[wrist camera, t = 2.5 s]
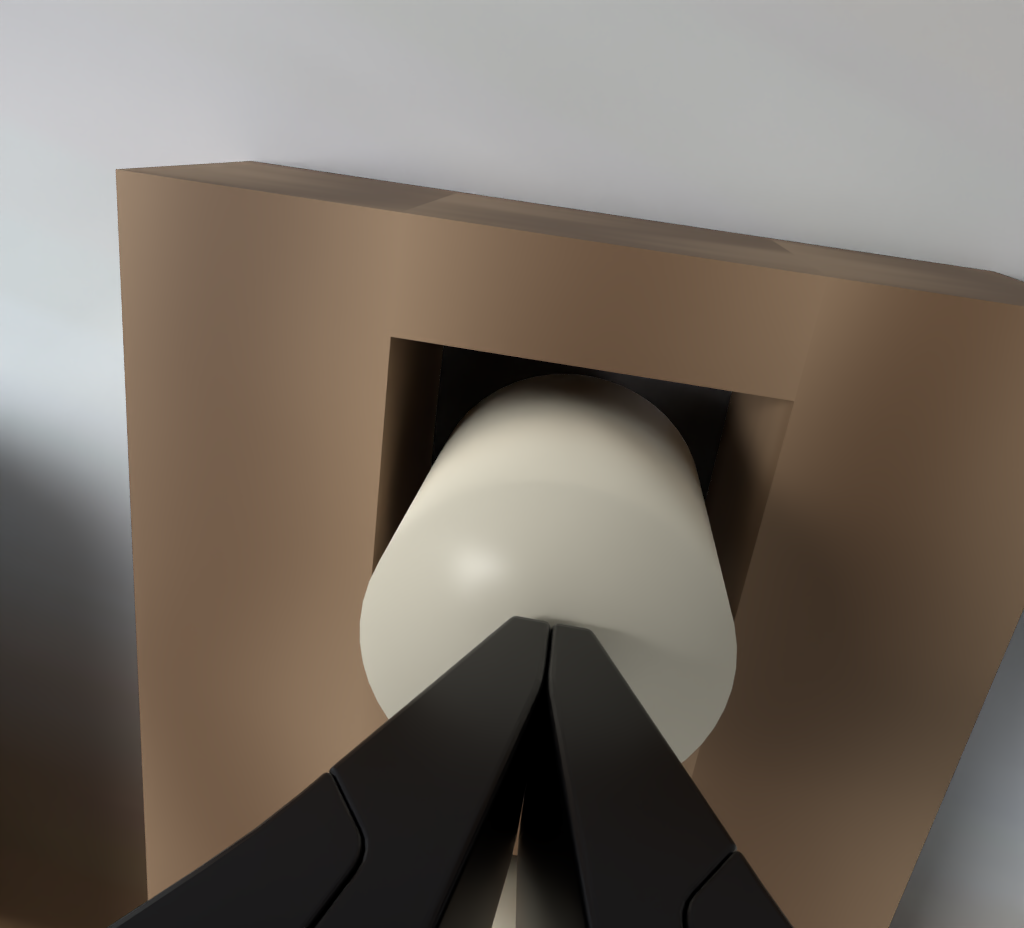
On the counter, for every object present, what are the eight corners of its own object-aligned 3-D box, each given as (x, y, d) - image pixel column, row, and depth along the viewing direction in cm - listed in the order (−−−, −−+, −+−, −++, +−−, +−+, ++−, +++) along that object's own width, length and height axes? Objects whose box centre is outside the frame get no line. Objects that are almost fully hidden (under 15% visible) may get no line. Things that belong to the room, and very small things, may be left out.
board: (993, 271, 13) (1144, 324, 9) (677, 1185, 22) (689, 1396, 18) (250, 161, 14) (116, 169, 10) (238, 1090, 23) (164, 1276, 19)
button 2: (728, 398, 12) (779, 518, 8) (670, 637, 13) (691, 832, 9) (448, 353, 12) (371, 449, 8) (422, 593, 13) (348, 767, 10)
